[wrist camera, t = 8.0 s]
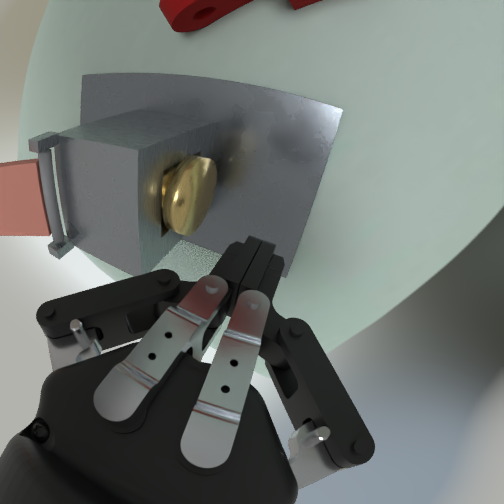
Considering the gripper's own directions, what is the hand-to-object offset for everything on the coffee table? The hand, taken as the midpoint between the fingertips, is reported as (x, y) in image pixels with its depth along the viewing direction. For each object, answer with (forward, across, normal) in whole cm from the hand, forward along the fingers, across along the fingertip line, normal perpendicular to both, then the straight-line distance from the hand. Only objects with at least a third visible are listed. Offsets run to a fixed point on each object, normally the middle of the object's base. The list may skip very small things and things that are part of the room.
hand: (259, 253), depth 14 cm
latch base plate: (+9, +11, 0) cm, 14 cm away
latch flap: (-3, +19, 0) cm, 19 cm away
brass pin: (+7, +13, 0) cm, 15 cm away
